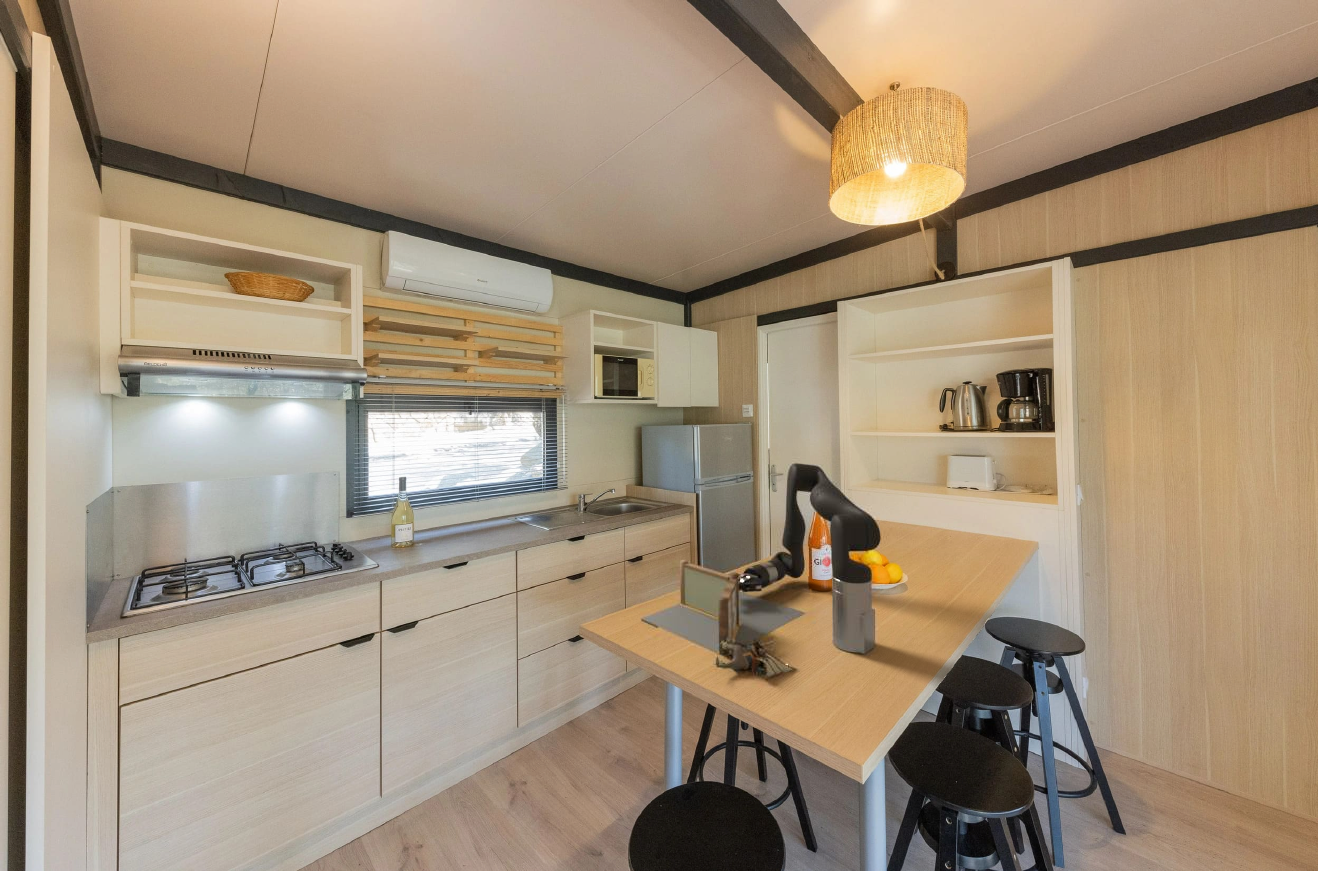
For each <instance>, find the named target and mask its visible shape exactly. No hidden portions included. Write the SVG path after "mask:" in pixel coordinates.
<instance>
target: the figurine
mask: <svg viewBox="0 0 1318 871" xmlns="http://www.w3.org/2000/svg"><path fill="white" fill-rule="evenodd" d="M726 638H727V637H726ZM776 639H777V638H776V637H774V638H773V640H770V641H768V642H764V643H762V641H761V639H760V638H758V639H756V638H755V639H754V640H753V642H751V643H750V642H748V641H737V640H735V639H731V638H730V637H729V636H728V638H727V639H726V640H727V641H726V642H724V640H723V641H722V642H721V643H720V644H719V645H720V646H721V647H722V648H723V649H725V650H728V651H729V653H730V654H729V655H731V656H732V660H730V661H729V662H724V661H723V660H719V656H718V655H717V656H716V658H715V663H714V665H715V666H716V667H719V668H724V669H725V668H727V669H728V668H729V669H732V670H734V671H740V670H741V671H742V673H743V674H744V673H747V674H748V675H747V676H751V675H752V674H754V675H761V676H762V677H764V678H763V680H764V681H766V680H767V679H768V678H769V679H770V678H772V677H774V676H780V675H781V674H783V673H787V672H788V673H789V672H795V671H797V670H798V668H795V667H793V666H791V665H789V663H785V662H784V661H782V660H780V658H777V657H776V656H775V655H772V654H771V653H768V652H772V651H775V648H773V643H774V642H775V641H776ZM727 642H729V643H731V644H732V645H731V644H728V643H727ZM733 644H738V645H741V646H742V647H740V646H738V645H733ZM768 645H770V647H771V648H766V647H765V646H768ZM764 668H765V670H764ZM749 671H751V672H749Z"/></svg>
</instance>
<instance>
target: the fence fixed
mask: <svg viewBox="0 0 1318 871" xmlns="http://www.w3.org/2000/svg"><path fill="white" fill-rule="evenodd" d="M729 574H730V580H729V582H728V584H727V586H726V588H725V590H724V592H723V594H722V596H721V597H719V598H718V615H719V644H720V643H721V642H722V641H723V640H724V642H726V641H727V640H726V639H727V638H728V636H729V637H730V638H732V636H733V633H734V630H735V627H736V625H738V624H739V592H740V591H739V573H738V572H730V573H729ZM726 637H727V638H726ZM727 643H728V644H730V643H729V642H727ZM719 653H720V654H719V655H720V656H722V655H726V656H728V655H727V654H729V651H728V650H725V649H723V648H722V647H721V646H720V645H719ZM729 655H730V654H729Z"/></svg>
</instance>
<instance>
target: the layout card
mask: <svg viewBox="0 0 1318 871" xmlns="http://www.w3.org/2000/svg"><path fill="white" fill-rule="evenodd" d="M805 614H806V611H805V612H804V611H801V610H798V609H795V608H793V607H790V606H789V607H788V606H785V605H782V604H780V603H776V602H774V601H770V600H767V599H764V598H761V597H757V596H754V595H752V594H748V593H747V592H742V591H739V624H738V625H736V627H735V630H734V633H733V636H732V638H731V639H735V640H737V641H748V642H750V643H751V642H753V640H754V639H755V638H756V639H760V638H763V637H764V636H765V635H767V634H770V633H771V632H773V631H775V630H777V629H779V628H780V627H783V626H784V625H786V624H788V623H790V622H792V621H793V620H795V619H798V618H799V617H801V616H804V615H805ZM642 620H643V621H642ZM640 621H642V622H644V623H647V624H649V625H651V626H653V627H656V628H661V629H663V630H666V631H667V632H670V633H672V634H674V635H676V636H678V637H681V638H683V639H685V640H687V641H689V642H692V643H694V644H696V645H698V646H700V647H703V648H705V649H707V650H709V651H710V652H712V653H713V652H714V653H716V654H717V655H720V653H719V617H716V616H714V615H711V614H709V613H706V612H704V611H701V610H699V609H696V608H694V607H691V606H689V605H686V604H682V603H681V602H680V603H678V604H675V605H673V606H670V607H668V608H667V607H666V608H665V609H662V610H659V611H656V612H654V613H651V614H649V615H646V616H643V617H642V618H640ZM730 644H731V643H730ZM731 645H732V644H731ZM733 645H738V644H733ZM738 646H740V647H742V646H741V645H738ZM730 655H731V654H730V653H729V654H727V655H721V656H722V657H726V656H730Z"/></svg>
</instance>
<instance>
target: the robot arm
mask: <svg viewBox="0 0 1318 871" xmlns="http://www.w3.org/2000/svg"><path fill="white" fill-rule="evenodd" d="M798 492H804V493H805V492H806V493H810V495H809V502H810V505H811V506H812V508H813V510H815V512H816V513H817V514H818V515H819V516H820V517H821V518H822V519H824V520H825V521H828V522H830V524H829V526H830V527H829V533H830V535H829V536H830V537H829V538H830V551H831V553H830V554H831V559H830V560H831V570H832V643H833V645H834V646H835V647H836V648H838V649H840V650H842V651H846V652H849V653H855V654H856V653H858V654H862V655H866V654H867V653H869V652H870V651H871V650H873V649H874V648H875V647H876V610H875V608H873V605H872V604H873V603H872V601H873V600H872V598H873V597H872V596H873V595H872V594H873V593H872V590H873V588H872V587H873V586H872V583H873V580H872V579H873V573H872V569H871V567H870V566H868V565H867V564H865V563H862V562H859V561H857V560H854V559H852V558H851V557H850V552H871V551H872V550H873V551H874V550H875V549H876V548H877V547H878V546H879V545H880V543H881V539H882V538H881V535H882V534H881V531H880V528H879V525H878V523H877V521H876V520H875V519H874V517H872V515H870V514H869V513H868V512H866V511H865V510H863V509H861V508H860V507H858V506H857V505H856V504H855V503H854V502H852V501H851V500H850V499H849V498H848V497H847V496H846V495H845V494H844V493H843V492H842V491H841V490H840V489H839V488H838V487H837V486H836V485H835V484H834V483H833V482H832V481H831V480H830V479H829V477H828V476H827V474H826V473H825V471H824V470H823V469H822V468H821V467H820V466H818V465H814V464H805V463H797V462H795V463H792V464H791V465H790V467H789V469H788V472H787V479H786V499H785V500H786V501H785V502H786V503H785V522H784V528H783V535H782V539H781V544H782V546H783V548H784V549H786V551H788V552H789V553H788V552H786V551H779V552H777V553H776V554H774V556H772V558H771V559H769V560H767V561H765V562H764V561H762V562H760V563H757V564H754V565H751V566H749V567H747V568H746V569H745V570H744V571H743V573H741V574H739V573H738V574H739V592H742V593H747V592H748V593H750V592H752V593H753V592H762V590H763V589H765V588H767V587H770V586H771V585H773V584H775V583H777V582H778V581H781V580H783V579H784V578H785V576H788V577H790V578H792V579H798V578H801V576H803V574H804V571H805V566H806V565H805V564H806V563H805V555H804V543H805V542H804V541H805V537H806V536H805V535H806V522H805V519H804V516H803V513H802V512H801V509H800V507H799V503H798V497H797V496H798ZM817 494H818V495H817ZM728 575H730V573H728Z"/></svg>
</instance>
